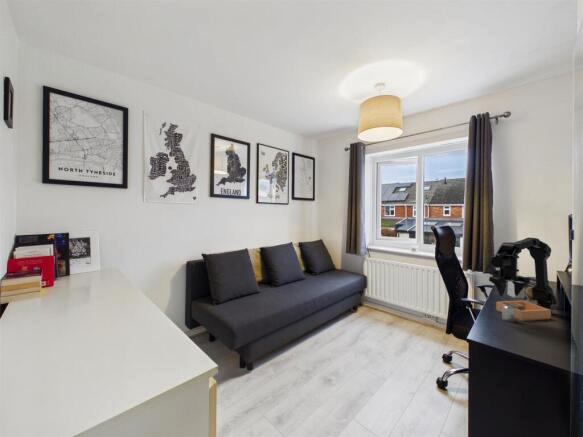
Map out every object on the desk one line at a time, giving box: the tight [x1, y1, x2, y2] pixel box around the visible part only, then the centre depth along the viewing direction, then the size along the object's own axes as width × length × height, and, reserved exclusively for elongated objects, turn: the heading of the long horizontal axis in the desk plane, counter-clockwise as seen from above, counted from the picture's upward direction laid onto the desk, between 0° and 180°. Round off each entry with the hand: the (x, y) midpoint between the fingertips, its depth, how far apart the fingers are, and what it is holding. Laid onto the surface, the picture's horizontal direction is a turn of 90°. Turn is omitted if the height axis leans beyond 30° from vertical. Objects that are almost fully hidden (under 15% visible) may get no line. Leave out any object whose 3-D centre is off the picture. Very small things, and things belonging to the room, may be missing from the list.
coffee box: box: [523, 276, 550, 305], centre depth 153 cm, size 9×6×16 cm
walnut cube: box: [508, 303, 525, 311], centre depth 136 cm, size 5×5×5 cm
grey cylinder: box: [501, 305, 516, 323], centre depth 130 cm, size 5×5×7 cm
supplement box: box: [507, 281, 525, 299], centre depth 166 cm, size 7×7×13 cm
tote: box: [495, 300, 552, 322], centre depth 137 cm, size 18×14×5 cm
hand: (508, 295), depth 129 cm, fingers open, 9 cm apart
